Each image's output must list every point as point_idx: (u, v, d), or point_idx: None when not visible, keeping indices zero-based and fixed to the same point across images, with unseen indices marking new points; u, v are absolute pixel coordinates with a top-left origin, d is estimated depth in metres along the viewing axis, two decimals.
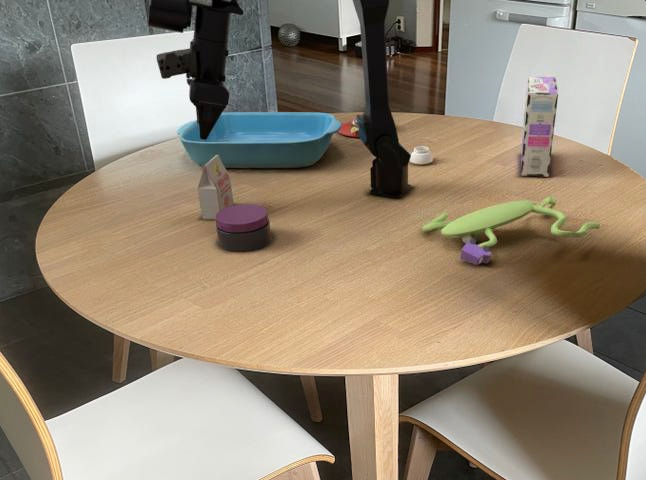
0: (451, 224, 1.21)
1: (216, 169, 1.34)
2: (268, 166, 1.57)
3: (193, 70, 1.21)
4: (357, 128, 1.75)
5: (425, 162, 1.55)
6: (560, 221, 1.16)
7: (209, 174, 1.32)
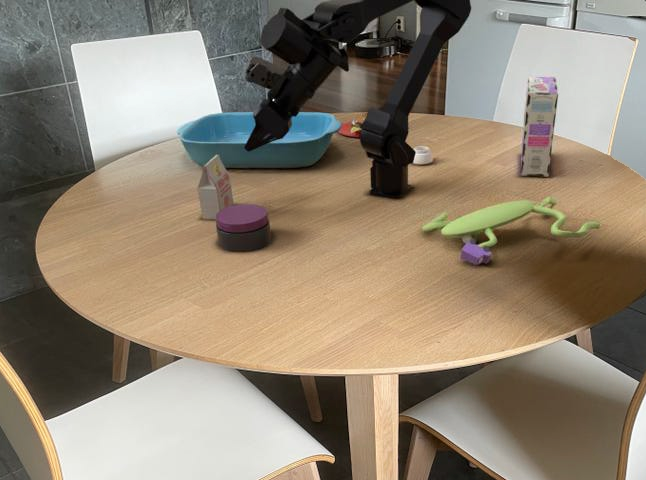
0: (451, 224, 1.21)
1: (216, 169, 1.34)
2: (268, 166, 1.57)
3: (274, 90, 1.23)
4: (357, 128, 1.75)
5: (425, 162, 1.55)
6: (560, 221, 1.16)
7: (209, 174, 1.32)
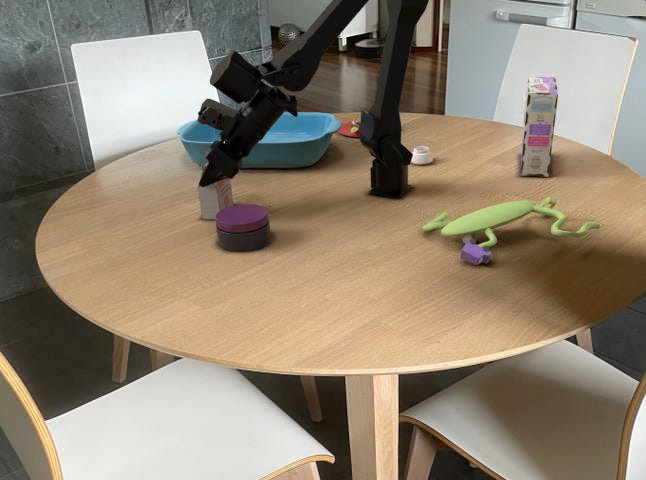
0: (451, 224, 1.21)
1: None
2: (268, 166, 1.57)
3: (225, 132, 1.27)
4: (357, 128, 1.75)
5: (425, 162, 1.55)
6: (560, 221, 1.16)
7: None
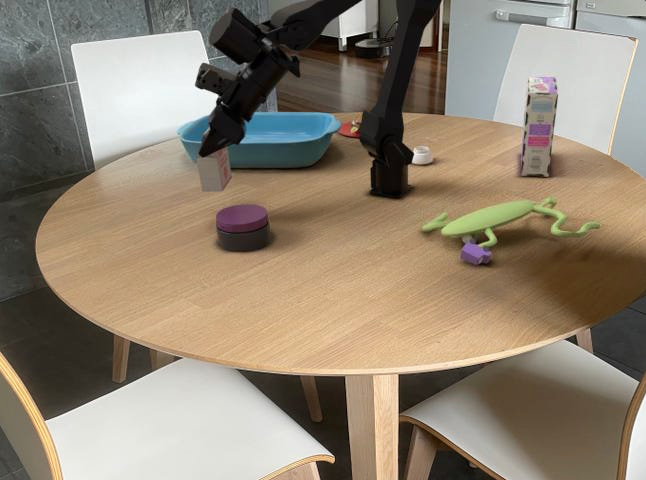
0: (451, 224, 1.21)
1: None
2: (268, 166, 1.57)
3: (226, 96, 1.21)
4: (357, 128, 1.75)
5: (425, 162, 1.55)
6: (560, 221, 1.16)
7: None
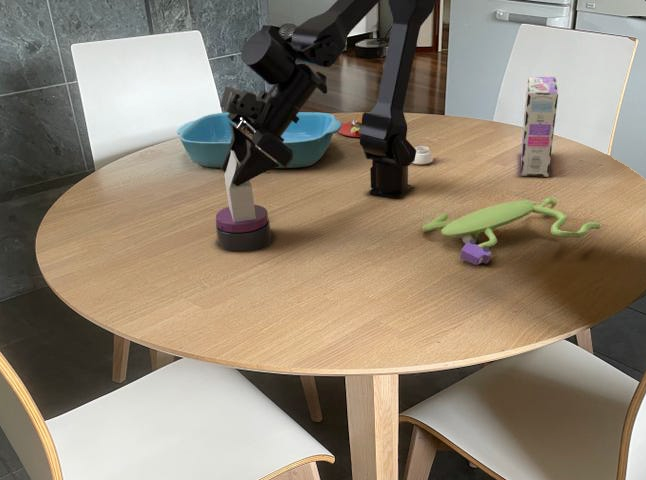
0: (451, 224, 1.21)
1: None
2: None
3: (260, 119, 1.15)
4: (357, 128, 1.75)
5: (425, 162, 1.55)
6: (560, 221, 1.16)
7: None
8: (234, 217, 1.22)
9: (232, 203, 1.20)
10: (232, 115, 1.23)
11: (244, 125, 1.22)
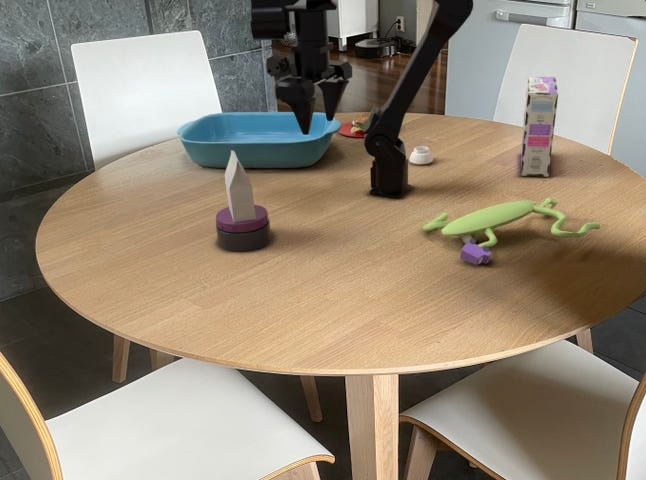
0: (451, 224, 1.21)
1: (240, 165, 1.21)
2: (268, 166, 1.57)
3: (293, 70, 1.30)
4: (357, 128, 1.75)
5: (425, 162, 1.55)
6: (560, 221, 1.16)
7: (242, 170, 1.18)
8: (234, 217, 1.22)
9: (232, 203, 1.20)
10: None
11: None
